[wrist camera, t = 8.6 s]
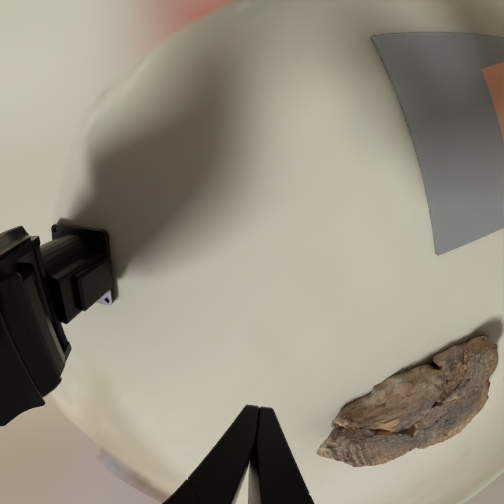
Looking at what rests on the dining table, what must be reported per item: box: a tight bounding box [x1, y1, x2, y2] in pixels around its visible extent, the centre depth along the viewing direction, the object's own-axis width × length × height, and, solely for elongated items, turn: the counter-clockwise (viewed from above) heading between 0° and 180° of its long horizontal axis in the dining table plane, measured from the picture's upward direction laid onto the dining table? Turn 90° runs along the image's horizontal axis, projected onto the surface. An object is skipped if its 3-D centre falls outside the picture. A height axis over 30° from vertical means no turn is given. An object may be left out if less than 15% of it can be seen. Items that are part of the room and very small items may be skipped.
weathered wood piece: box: [317, 335, 498, 467], centre depth 20 cm, size 14×5×20 cm
